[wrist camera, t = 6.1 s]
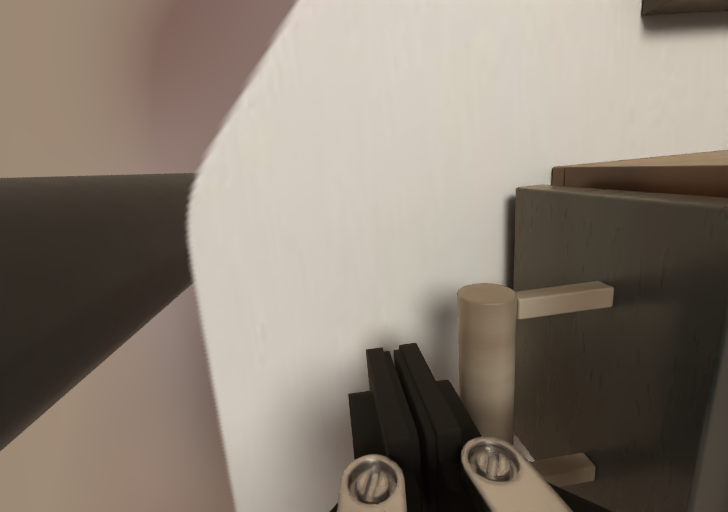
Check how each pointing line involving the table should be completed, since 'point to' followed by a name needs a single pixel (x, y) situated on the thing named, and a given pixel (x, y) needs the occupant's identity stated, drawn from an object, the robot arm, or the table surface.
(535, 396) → the drawer
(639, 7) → the table surface
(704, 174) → the cabinet
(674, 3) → the button box
